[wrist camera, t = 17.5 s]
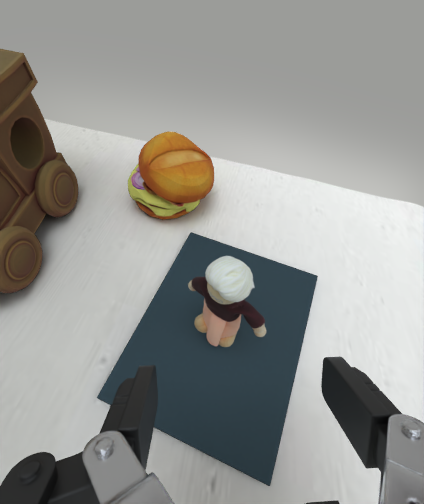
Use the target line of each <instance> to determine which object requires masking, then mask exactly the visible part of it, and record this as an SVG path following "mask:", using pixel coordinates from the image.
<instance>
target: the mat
mask: <svg viewBox="0 0 424 504" xmlns="http://www.w3.org/2000/svg"><path fill="white" fill-rule="evenodd" d="M224 256H231V257H234V258H235V259H238V260H240V261H242V262H244V263H245V264H246V265H247V266H248V267H249V268H250V270H251V272H252V275H253V283H254V287H255V288H252V289H251V292H250V294H249V296H248V297H246V298H245V301H247V302H249V303H250V304H251V305H252V306H253V307H254V308H255V309H256V310H257V311H258V312H259V313H260V314H261V315H262V316H263V317H264V319H265V323H264V325H265V328H266V334H265V335H264V336H263V337H257V336H256V335H255V333H254V330H253V329H252V327H251V326H250V325H249V324H248V323H247V321H246V320H245V318H244V316H243V314H241V322H240V327H239V329H238V331H237V334H236V336H235V339H234V342H233V344H232V345H231V346H229V347H222V346H220V345H219V344H218V346H213V345H211V344H210V343H209V342H208V340H207V332H206V333H202V332H200V331H198V330H197V329H196V327H195V324H194V321H195V319H196V317H197V316H198V315H200V314H202V313H203V307H204V299H205V298H204V296H202V295H201V294H199V293H198V292H197V291H191V290H190V289H189V287H188V284H189V282H190V281H191V280H192V279H193V278H195V277H206V276H205V275H206V274H205V272H206V269H207V267H208V266H209V265H210V264H211V263H212V262H213V261H215V260H217V259H218V258H220V257H224ZM316 281H317V276H316V275H313V274H310V273H307V272H305V271H302V270H299V269H296V268H293V267H290V266H287V265H284V264H281V263H278V262H276V261H273V260H270V259H267V258H264V257H261V256H258V255H255V254H252V253H249V252H246V251H244V250H241V249H238V248H235V247H232V246H229V245H226V244H223V243H220V242H217V241H215V240H212V239H209V238H206V237H203V236H200V235H197V234H194V233H190V235H189V236H188V238H187V240H186V242H185V243H184V245H183V247H182V249H181V251H180V252H179V254H178V256H177V258H176V259H175V261H174V263H173V265H172V266H171V268H170V270H169V272H168V273H167V275H166V277H165V279H164V280H163V282H162V284H161V286H160V287H159V289H158V291H157V293H156V295H155V296H154V298H153V300H152V302H151V303H150V305H149V307H148V309H147V310H146V312H145V314H144V316H143V317H142V319H141V321H140V323H139V324H138V326H137V328H136V330H135V332H134V333H133V335H132V337H131V339H130V340H129V342H128V344H127V346H126V347H125V349H124V351H123V353H122V354H121V356H120V358H119V360H118V361H117V363H116V365H115V367H114V369H113V370H112V372H111V374H110V376H109V377H108V379H107V381H106V383H105V384H104V386H103V388H102V390H101V391H100V393H99V395H98V397H97V398H98V399H100V400H102V401H104V402H106V403H108V404H110V405H112V402H113V400H114V397H115V395H116V392H117V390H118V387H119V386H120V385H121V384H122V383H123V382H124V381H125V380H126V379H127V378H135V376H136V373H137V370H138V367H139V366H149V365H155V366H156V376H157V389H158V405H157V412H156V417H155V422H154V427H155V428H157V429H159V430H161V431H163V432H165V433H167V434H169V435H171V436H172V437H174V438H176V439H178V440H180V441H182V442H184V443H186V444H188V445H190V446H192V447H194V448H196V449H198V450H200V451H202V452H204V453H206V454H208V455H210V456H212V457H214V458H216V459H217V460H219V461H221V462H223V463H225V464H227V465H229V466H231V467H233V468H235V469H237V470H239V471H241V472H243V473H245V474H247V475H249V476H251V477H253V478H255V479H257V480H259V481H261V482H263V483H264V484H266V485H268V486H270V483H271V479H272V475H273V470H274V466H275V461H276V457H277V453H278V448H279V444H280V439H281V435H282V431H283V426H284V422H285V417H286V413H287V409H288V404H289V400H290V395H291V391H292V387H293V382H294V378H295V373H296V369H297V365H298V360H299V356H300V351H301V347H302V343H303V338H304V334H305V329H306V325H307V321H308V316H309V312H310V307H311V303H312V299H313V294H314V290H315V285H316Z"/></svg>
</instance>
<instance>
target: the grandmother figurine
mask: <svg viewBox="0 0 424 504" xmlns="http://www.w3.org/2000/svg"><path fill="white" fill-rule="evenodd" d="M205 274H206V275H205V276H206V277H195V278H193V279H192V280H191V281H190V282H189V284H188V287H189V289H190V290H191V291H197V292H198V293H199V294H201V295H202V296H204V298H205V299H204V307H203V313H202V314H200V315H198V316H197V317H196V319H195V321H194V324H195V327H196V329H197V330H198V331H200V332H202V333H206V332H207V340H208V342H209V343H210V344H211V345H213V346H218V344H219V345H220V346H222V347H229V346H231V345H232V344H233V342H234V339H235V336H236V334H237V331H238V329H239V327H240V322H241V314H243V316H244V318H245V320H246V321H247V323H248V324H249V325H250V326H251V327H252V329H253V330H254V333H255V335H256V336H257V337H263V336H264V335H265V334H266V328H265V325H264V323H265V319H264V317H263V316H262V315H261V314H260V313H259V312H258V311H257V310H256V309H255V308H254V307H253V306H252V305H251V304H250V303H249V302H247V301H245V298H246V297H248V296H249V294H250V292H251V289H252V288H255V287H254V283H253V275H252V272H251V270H250V268H249V267H248V266H247V265H246V264H245V263H244V262H242V261H240V260H238V259H235V258H234V257H231V256H224V257H220V258H218V259H217V260H215V261H213V262H212V263H211V264H210V265H209V266H208V267H207V269H206V272H205Z"/></svg>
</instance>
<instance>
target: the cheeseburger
mask: <svg viewBox="0 0 424 504" xmlns="http://www.w3.org/2000/svg"><path fill="white" fill-rule="evenodd" d="M213 183H214V167H213V164H212V161H211V158H210V157H209V156H208V155H207V154H206V153H205V152H204V151H202V150H201V149H200V148H198V147H197V146H196V145H195V144H194V143H193V142H191V141H190V140H189V139H188V138H186V137H185V136H183V135H181V134H178V133H176V132H165V133H162V134H159V135H157V136H155V137H154V138H152V139H151V140H150V141H149V142H147V143H146V144H145V145H144V147H143V148H142V149H141V152H140V155H139V164H138V165H137V166H136V167H135V169H134V170H133V172H132V173H131V175H130V177H129V180H128V191H129V194H130V196H131V197H132V199H133V200H135V201H136V203H137V204H138V206H139V208H140V209H141V210H143V211H144V212H145V213H147V214H148V215H149V216H152V217H155V218H159V219H163V220H164V219H173V218H178V217H180V216H183V215H185V214H187V213H189V212H190V211H192V210H194V209H195V207H196V206H197V205H198V204H199V202H200V199H202V198H204V197H205V196H206V195H207V194H208V193H209V192H210V191H211V189H212V186H213Z"/></svg>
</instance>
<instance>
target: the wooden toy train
mask: <svg viewBox="0 0 424 504" xmlns="http://www.w3.org/2000/svg"><path fill="white" fill-rule="evenodd" d="M36 84H37V80H36V78H35V76H34V74H33V72H32V70H31V67H30V65H29V63H28V61H27V60H26V57H25V55H24V53H19V52H14V51H9V50H4V49H0V292H2V293H13V292H16V291H19V290H21V289H24V288H25V287H27V286H28V285H29V284H30V283H31V282H32V281H33V280H34V278H35V277H36V276H37V274H38V272H39V269H40V267H41V263H42V248H41V245H40V242H39V240H38V239H37V237H36V235H35V234H34V233H35V232H36V230H37V228H38V227H39V225H40V224H41V222H42V220H43V219H44V217H45V215H46V214H48V215H51V216H53V217H62V216H65V215H67V214H68V213H70V212H71V210H72V209H73V208H74V206H75V204H76V202H77V197H78V183H77V179H76V176H75V174H74V172H73V171H72V169H71V168H70V166H68V165H67V163H66V161H65V159H64V157H63V155H62V154H61V153H57V152H56V150H55V147H54V143H53V140H52V137H51V134H50V132H49V130H48V127H47V125H46V123H45V120H44V118H43V116H42V114H41V111H40V109H39V107H38V105H37V103H36V101H35V99H34V98H33V96H32V94H31V91H32V90H33V88H34V87H35V85H36Z"/></svg>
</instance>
